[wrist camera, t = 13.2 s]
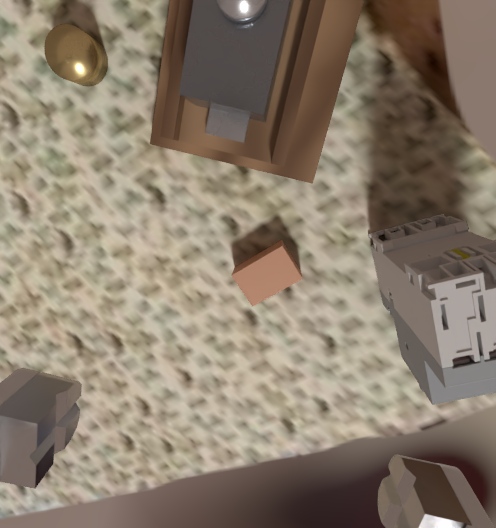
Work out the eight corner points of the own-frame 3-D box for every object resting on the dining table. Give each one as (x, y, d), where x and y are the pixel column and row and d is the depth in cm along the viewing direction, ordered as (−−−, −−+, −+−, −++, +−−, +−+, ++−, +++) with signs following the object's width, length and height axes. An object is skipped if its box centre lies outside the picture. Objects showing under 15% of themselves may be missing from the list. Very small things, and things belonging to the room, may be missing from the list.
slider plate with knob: (234, -121, 23) (221, -214, 17) (317, -101, 23) (331, -188, 17) (191, 130, 28) (169, 122, 22) (260, 146, 27) (256, 143, 22)
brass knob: (62, 80, 35) (43, 73, 32) (65, 30, 34) (45, 18, 31) (105, 91, 35) (90, 85, 32) (110, 41, 33) (95, 30, 31)
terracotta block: (253, 295, 40) (252, 306, 37) (234, 266, 39) (231, 275, 36) (300, 269, 39) (302, 278, 36) (281, 239, 38) (282, 245, 35)
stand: (156, 144, 36) (116, 140, 27) (191, -99, 30) (155, -212, 21) (310, 182, 36) (322, 190, 27) (376, -55, 30) (420, -148, 21)
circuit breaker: (393, 351, 40) (457, 458, 26) (367, 233, 37) (427, 281, 22) (461, 336, 39) (569, 439, 25) (442, 213, 36) (555, 250, 21)
